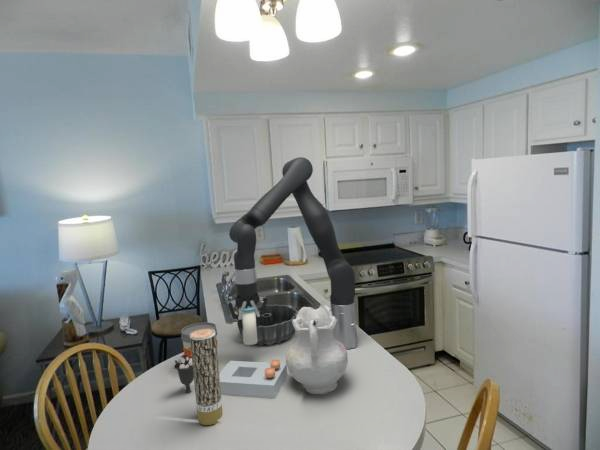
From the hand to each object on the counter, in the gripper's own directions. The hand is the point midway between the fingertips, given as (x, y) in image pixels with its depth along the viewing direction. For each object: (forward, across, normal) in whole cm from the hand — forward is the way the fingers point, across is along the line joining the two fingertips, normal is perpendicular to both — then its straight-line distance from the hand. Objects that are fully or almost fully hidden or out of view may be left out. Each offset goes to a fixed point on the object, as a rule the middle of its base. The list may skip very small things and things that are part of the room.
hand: (249, 327), depth 138 cm
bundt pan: (+15, +11, +25) cm, 31 cm away
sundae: (+15, -22, -10) cm, 29 cm away
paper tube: (+15, -16, -26) cm, 34 cm away
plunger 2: (+11, +5, -15) cm, 20 cm away
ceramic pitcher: (+15, +18, -22) cm, 32 cm away
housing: (+15, -2, -14) cm, 20 cm away
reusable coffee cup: (+15, -17, +6) cm, 24 cm away
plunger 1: (+11, +3, -20) cm, 23 cm away
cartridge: (+5, 0, 0) cm, 5 cm away
